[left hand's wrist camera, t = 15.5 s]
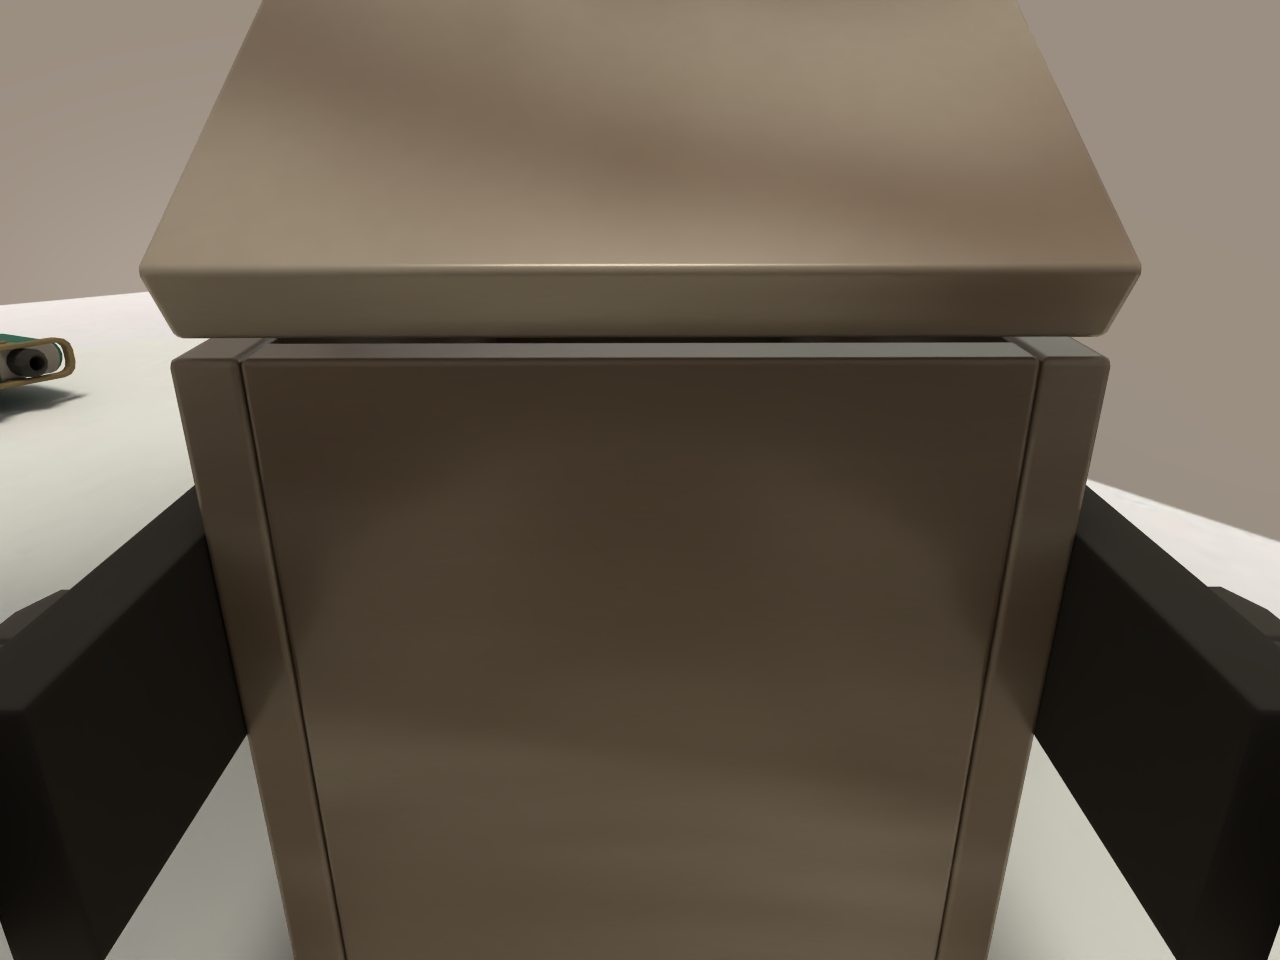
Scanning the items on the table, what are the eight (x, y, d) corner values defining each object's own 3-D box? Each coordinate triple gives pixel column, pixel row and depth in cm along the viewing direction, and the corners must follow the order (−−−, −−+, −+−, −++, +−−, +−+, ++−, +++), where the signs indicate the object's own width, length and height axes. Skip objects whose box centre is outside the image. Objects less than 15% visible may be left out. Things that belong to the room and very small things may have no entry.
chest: (490, 531, 29) (465, 190, 25) (788, 530, 29) (812, 189, 25) (312, 1058, 13) (165, 359, 9) (969, 1056, 13) (1116, 358, 9)
